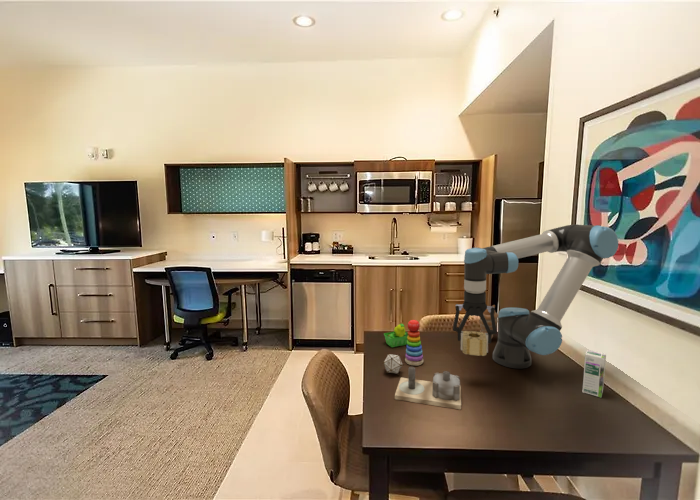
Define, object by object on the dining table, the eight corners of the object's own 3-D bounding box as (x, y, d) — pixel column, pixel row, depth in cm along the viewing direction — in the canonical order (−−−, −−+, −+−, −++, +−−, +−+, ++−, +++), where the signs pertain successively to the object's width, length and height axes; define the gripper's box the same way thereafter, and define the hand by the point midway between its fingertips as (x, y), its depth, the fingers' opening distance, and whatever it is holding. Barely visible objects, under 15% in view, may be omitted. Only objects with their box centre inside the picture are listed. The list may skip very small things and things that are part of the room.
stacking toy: (422, 358, 151) (423, 317, 149) (424, 366, 143) (425, 323, 141) (404, 357, 152) (404, 317, 149) (405, 366, 144) (405, 323, 142)
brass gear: (484, 347, 131) (485, 332, 130) (486, 356, 123) (486, 340, 123) (462, 345, 134) (462, 330, 133) (462, 354, 126) (462, 338, 125)
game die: (396, 380, 140) (410, 360, 140) (392, 382, 132) (407, 361, 132) (379, 365, 143) (393, 346, 143) (374, 367, 135) (389, 346, 136)
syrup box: (581, 392, 122) (584, 353, 120) (584, 386, 127) (587, 348, 125) (601, 398, 119) (605, 358, 117) (603, 391, 123) (606, 352, 121)
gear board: (460, 389, 125) (461, 366, 124) (460, 409, 113) (461, 384, 112) (400, 381, 132) (400, 358, 131) (394, 399, 120) (394, 374, 118)
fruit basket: (402, 339, 173) (402, 317, 171) (412, 345, 165) (413, 323, 163) (383, 343, 168) (383, 321, 167) (392, 350, 160) (392, 326, 159)
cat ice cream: (496, 338, 173) (498, 303, 171) (497, 343, 166) (499, 307, 163) (478, 335, 176) (479, 301, 174) (478, 341, 169) (479, 306, 167)
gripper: (504, 289, 126) (503, 348, 129) (445, 287, 132) (445, 343, 135) (507, 294, 119) (505, 356, 122) (445, 292, 125) (444, 351, 128)
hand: (474, 349), depth 129 cm, fingers closed on brass gear, 8 cm apart
